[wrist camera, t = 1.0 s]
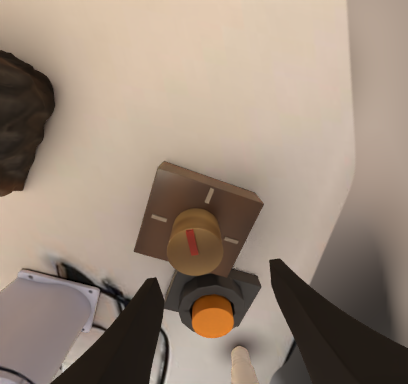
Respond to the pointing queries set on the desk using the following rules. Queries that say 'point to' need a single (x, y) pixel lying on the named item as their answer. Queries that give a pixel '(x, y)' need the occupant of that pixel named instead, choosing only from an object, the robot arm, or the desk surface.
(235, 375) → the lightbulb
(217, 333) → the power button
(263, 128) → the desk surface
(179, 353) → the desk surface
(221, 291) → the switch block
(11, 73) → the owl
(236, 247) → the dimmer console
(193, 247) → the dimmer knob
